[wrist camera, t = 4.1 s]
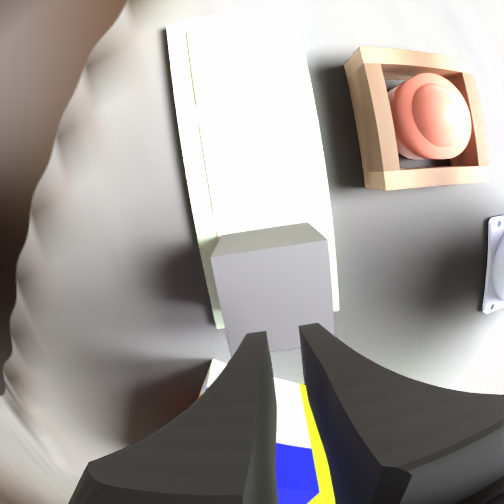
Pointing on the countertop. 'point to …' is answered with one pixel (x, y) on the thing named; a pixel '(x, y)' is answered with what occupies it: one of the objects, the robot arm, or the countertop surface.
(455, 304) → the countertop surface
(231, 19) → the board
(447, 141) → the dome
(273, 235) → the block
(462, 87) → the collar
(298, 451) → the puzzle toy
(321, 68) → the countertop surface
